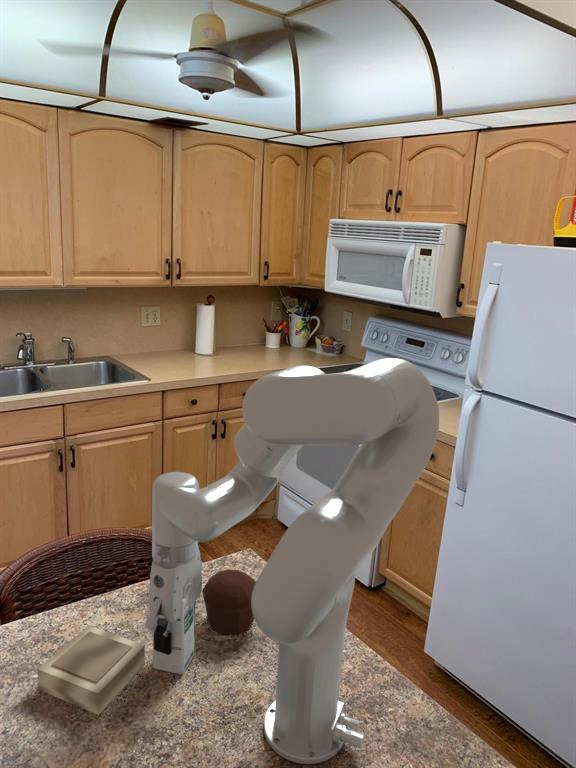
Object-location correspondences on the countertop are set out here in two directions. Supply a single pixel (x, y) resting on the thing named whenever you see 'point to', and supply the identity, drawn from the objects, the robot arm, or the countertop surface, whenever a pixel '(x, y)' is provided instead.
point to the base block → (91, 669)
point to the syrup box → (178, 642)
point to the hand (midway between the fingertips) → (174, 638)
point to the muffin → (229, 602)
